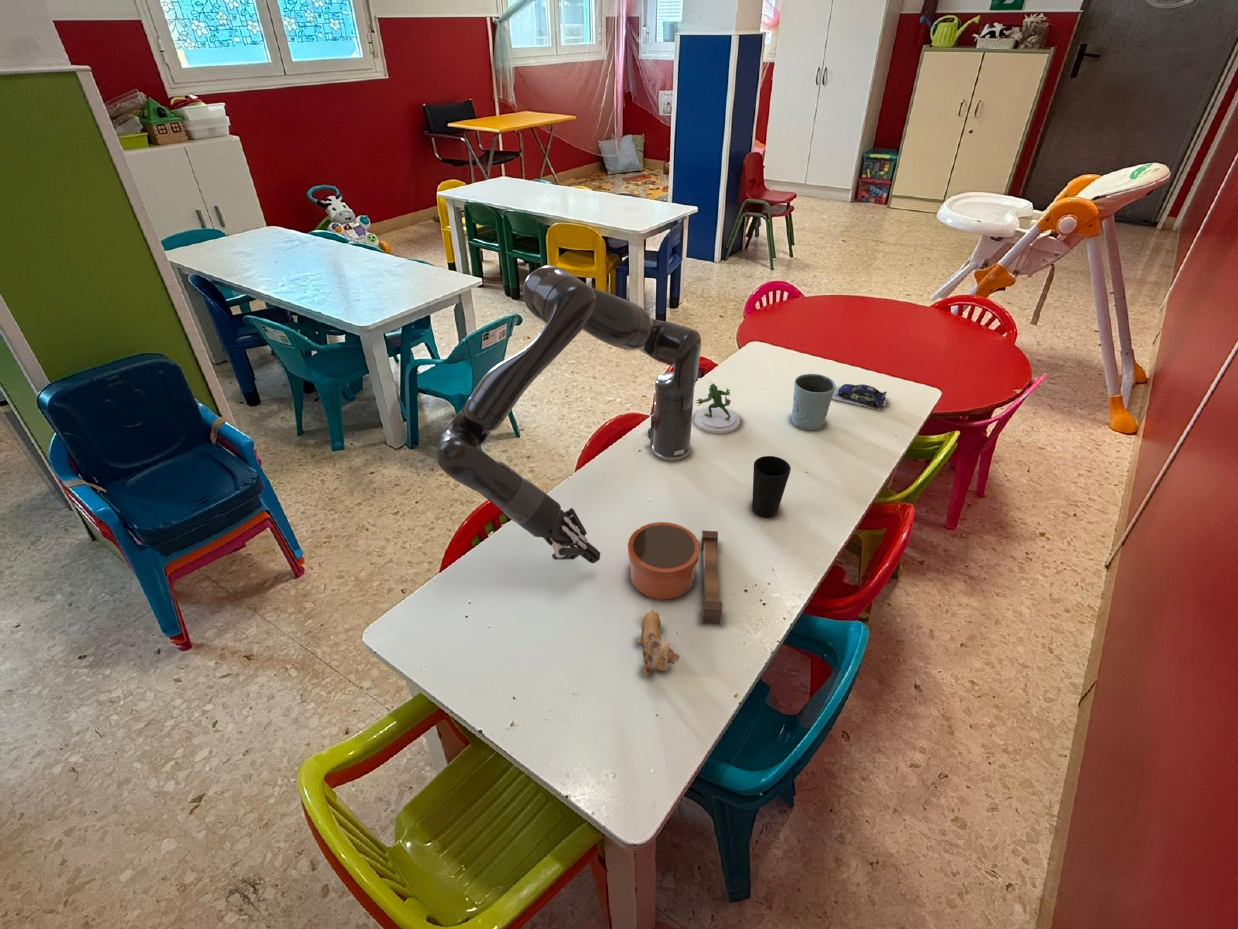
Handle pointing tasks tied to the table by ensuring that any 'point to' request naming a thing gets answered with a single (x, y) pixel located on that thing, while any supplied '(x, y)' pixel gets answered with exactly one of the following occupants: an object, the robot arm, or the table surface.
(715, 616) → the oak rail
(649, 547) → the terracotta pot
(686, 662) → the table surface
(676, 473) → the table surface
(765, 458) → the cup
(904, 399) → the table surface
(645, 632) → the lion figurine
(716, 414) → the monster figurine
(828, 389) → the grey planter pot
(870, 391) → the race car
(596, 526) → the table surface
